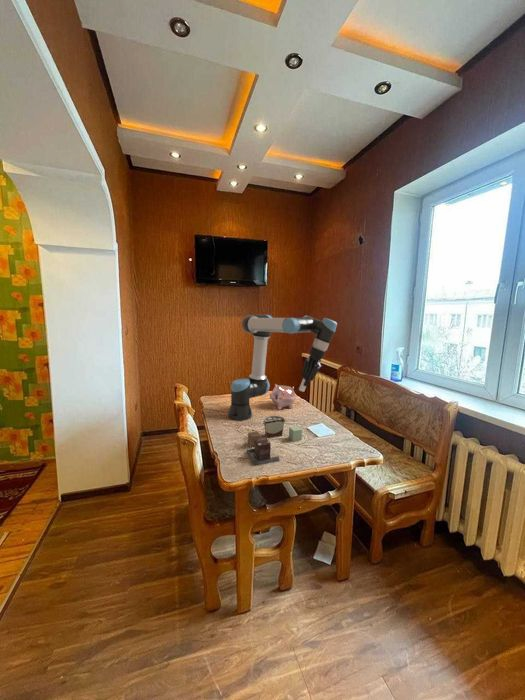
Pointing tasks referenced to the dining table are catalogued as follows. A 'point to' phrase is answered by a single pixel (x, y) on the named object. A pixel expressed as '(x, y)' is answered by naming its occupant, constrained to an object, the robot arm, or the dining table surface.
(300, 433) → the sage green block
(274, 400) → the piggy bank
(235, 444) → the dining table surface
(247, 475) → the dining table surface
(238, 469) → the dining table surface
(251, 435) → the walnut block
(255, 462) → the corral
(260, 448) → the box
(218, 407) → the dining table surface
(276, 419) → the food container
